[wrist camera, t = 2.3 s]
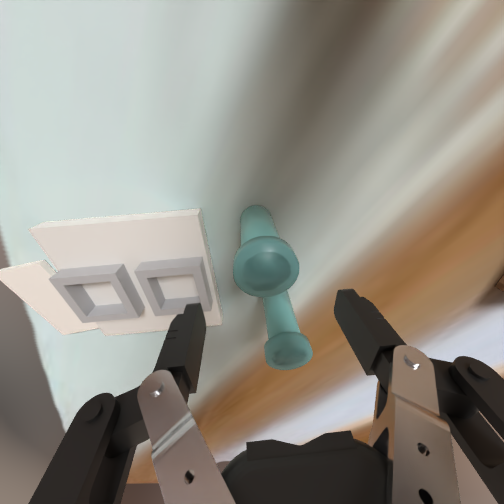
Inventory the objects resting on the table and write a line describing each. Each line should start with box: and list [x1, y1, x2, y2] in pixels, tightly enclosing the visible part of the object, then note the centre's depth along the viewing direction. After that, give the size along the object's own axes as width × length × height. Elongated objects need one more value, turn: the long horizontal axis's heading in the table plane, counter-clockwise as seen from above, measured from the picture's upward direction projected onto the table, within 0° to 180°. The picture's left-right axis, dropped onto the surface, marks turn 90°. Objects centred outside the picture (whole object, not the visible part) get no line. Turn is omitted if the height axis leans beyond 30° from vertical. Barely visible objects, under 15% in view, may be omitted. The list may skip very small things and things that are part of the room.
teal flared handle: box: [233, 205, 299, 297], centre depth 18 cm, size 5×5×10 cm
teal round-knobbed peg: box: [263, 290, 313, 370], centre depth 24 cm, size 5×5×10 cm
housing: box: [28, 208, 223, 336], centre depth 24 cm, size 17×17×4 cm
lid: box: [0, 260, 99, 335], centre depth 27 cm, size 12×6×1 cm, turn 12°
